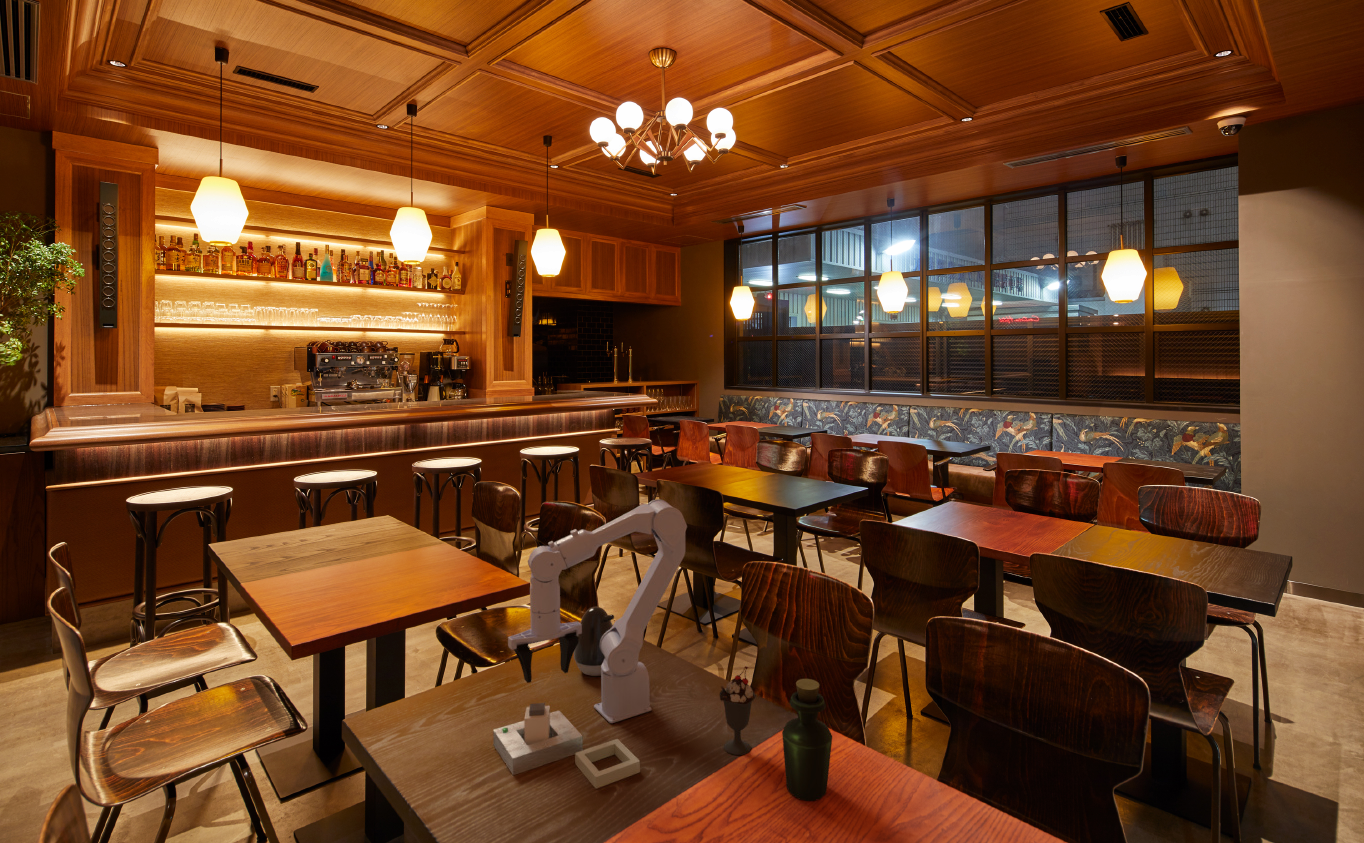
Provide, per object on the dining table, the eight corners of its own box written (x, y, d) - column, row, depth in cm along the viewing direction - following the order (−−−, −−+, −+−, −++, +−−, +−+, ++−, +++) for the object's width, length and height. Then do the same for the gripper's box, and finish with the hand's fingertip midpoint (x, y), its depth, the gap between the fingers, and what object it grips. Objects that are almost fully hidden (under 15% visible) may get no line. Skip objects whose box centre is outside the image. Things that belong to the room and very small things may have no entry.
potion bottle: (819, 771, 114) (820, 670, 113) (840, 801, 106) (841, 693, 105) (774, 777, 112) (775, 675, 111) (792, 808, 104) (793, 698, 103)
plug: (550, 741, 124) (549, 700, 123) (548, 754, 119) (547, 711, 119) (527, 743, 123) (526, 701, 122) (525, 756, 119) (524, 713, 118)
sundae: (760, 742, 123) (760, 664, 122) (748, 761, 117) (748, 679, 116) (727, 734, 126) (727, 658, 125) (714, 752, 120) (714, 672, 119)
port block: (559, 724, 129) (559, 708, 129) (582, 751, 120) (582, 734, 120) (493, 745, 122) (493, 728, 122) (513, 775, 113) (512, 756, 113)
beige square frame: (617, 749, 121) (617, 738, 121) (639, 772, 114) (639, 761, 114) (575, 763, 116) (575, 753, 116) (595, 788, 109) (595, 777, 109)
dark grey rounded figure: (599, 685, 146) (598, 618, 145) (564, 674, 151) (563, 609, 150) (627, 668, 154) (627, 605, 153) (593, 658, 160) (593, 597, 159)
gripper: (571, 596, 136) (572, 659, 137) (502, 609, 128) (503, 677, 129) (585, 605, 130) (586, 672, 131) (514, 620, 123) (515, 691, 123)
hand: (546, 675), depth 130 cm, fingers open, 7 cm apart
